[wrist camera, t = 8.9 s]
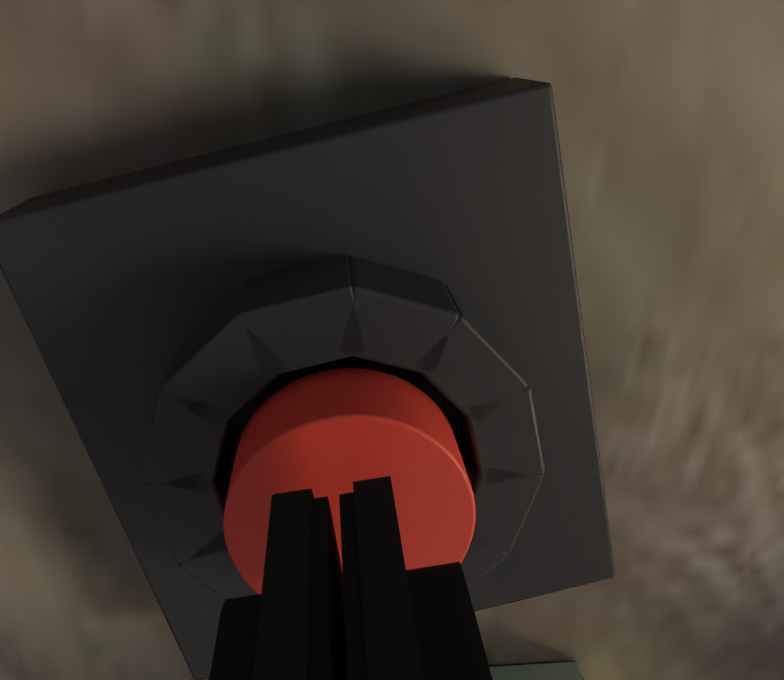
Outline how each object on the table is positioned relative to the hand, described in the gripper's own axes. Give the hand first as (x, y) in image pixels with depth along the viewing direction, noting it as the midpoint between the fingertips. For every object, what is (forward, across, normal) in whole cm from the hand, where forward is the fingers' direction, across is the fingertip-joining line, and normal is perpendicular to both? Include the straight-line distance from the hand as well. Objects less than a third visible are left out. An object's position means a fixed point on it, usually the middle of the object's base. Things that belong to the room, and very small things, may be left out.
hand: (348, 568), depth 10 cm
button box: (+6, 0, 0) cm, 7 cm away
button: (+3, 0, 0) cm, 3 cm away
